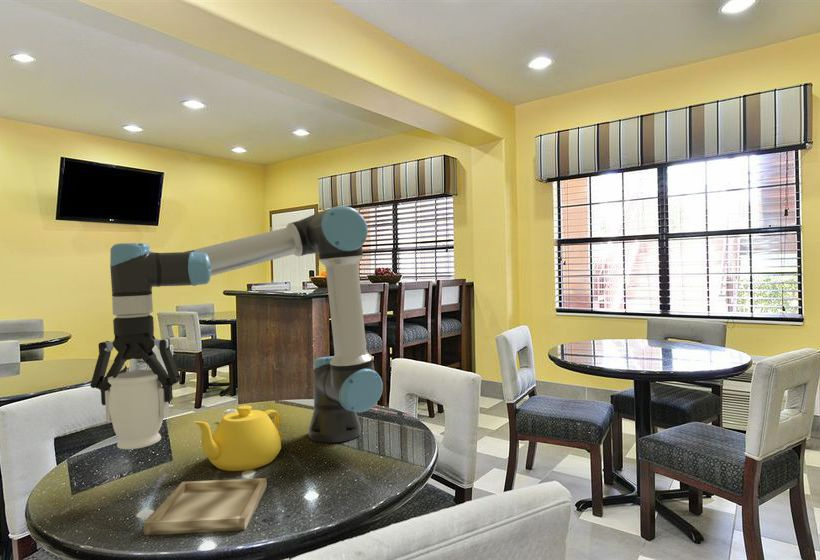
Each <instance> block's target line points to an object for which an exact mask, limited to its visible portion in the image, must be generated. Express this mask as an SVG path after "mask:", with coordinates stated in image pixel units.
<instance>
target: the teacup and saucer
mask: <svg viewBox="0 0 820 560" xmlns="http://www.w3.org/2000/svg"><path fill="white" fill-rule="evenodd" d="M233 412H237V408H229V409H226V410H224V411H223V412H222V417H224V416H225V413H226V415H227V414H229V413H233ZM220 421H221V419H220V420H219V421H218V423H219V422H220Z"/></svg>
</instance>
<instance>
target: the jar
mask: <svg viewBox="0 0 820 560" xmlns="http://www.w3.org/2000/svg"><path fill="white" fill-rule="evenodd" d="M157 378H158V376H157V375H156V374H154V373H153V371H152V370H151V369H140V370H139V369H138V370H137V369H136V370H131V371H126V372H121V373H120V372H119V374H118V375H117V377H116V378H113V376H111V377H110V378H109V377H108V382H109V383H110V384H111V387H110V394H109V411H110V416H111V419H112V421H111V423H112V428H113V431H114V433H115V434H116V435H115V436H117V438H118V442H117V443H116V447H117V448H118V449H120V450H136V449H141V448H145V447H149V446H152V445H155V444H157V443H159V442H160V441H161V440H162V436H161V433H160V432H159V431H160V429H161V427H162V424H163V420H164V419H160V402H159V388H161V387H163V386H162V384H161V383H160V381H159V380H158V379H157Z"/></svg>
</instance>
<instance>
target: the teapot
mask: <svg viewBox="0 0 820 560" xmlns="http://www.w3.org/2000/svg"><path fill="white" fill-rule="evenodd" d="M236 409H237V412H233V413H229V414H227V413H226V414H224V416H222V417H221V419H220V420H221V421H220V420H219V421H220V422H219V421H218V424H217V426H216V428H214V431H213V433H212V431H211V427H210V425H209V423H208V422H206V421H199V420H195V421H193V423H194V424H196V425H197V426H198V427H199V428H200V429H199V430H200V433H201V436H200V437H201V438H200V439H201V441H200V443H201V450H202V452H203V453H204V455H205V456H206V457H207V459H208V460H209V462H210V463H211V464H212V465H213V466H215V467H216V468H217V469H219V470H222V471H227V472H242V471H249V470H250V471H251V470H255V469H258V468H261V467H264V466H266V465H268V464H270V463H272V462H273V461H274V460H275V459H276V457H277V456H278V455H279V453H280V451H281V449H282V440H283V439H284V434H283V432H282V431H280V430H279V429H280V425H281V415H280V412H278V411H277V410H275V409H267V410H264V411H263V410H259V409H252V406H251V405H245V404H244V405H240V406H238V407H237V408H236ZM271 414H272V415H273V417H274V420H273V421H272V419H271V418H270V416H269V415H271Z"/></svg>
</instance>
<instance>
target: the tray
mask: <svg viewBox="0 0 820 560" xmlns="http://www.w3.org/2000/svg"><path fill="white" fill-rule="evenodd" d="M267 479H268V478H267V477H264V478H263V477H260V478H258V477H257V478H239V479H238V478H237V479H216V480H215V479H213V480H195V481H194V480H193V481H182V482H181V483H180V484H179V485H178V486H177V487H176V488H175V489H174V490H173V492H172V493H171V494H170V495H169V496H168V497H167V498H166V499H165V500H164V501H163V502H162V503H161V504H160V505H159V506H158V508H157V509H156V510H154V511H153V513H152V514H151V515H150V516H149V517H148V518H147V519H146V520H145V521H144V523H143V535H144V536H157V535H174V534H175V535H177V534H195V533H199V534H200V533H212V532H213V533H214V532H216V533H217V532H234V531H246V529H247V527H248V524H249V523H250V521H251V520H252V517H253V515H254V514H255V511H256V510H257V508H258V505H259V504H260V502H261V500H262V498H263V496H264V494H265V492H266V490H267V488H268V487H267V486H268V484H267V483H268V482H267Z"/></svg>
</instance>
